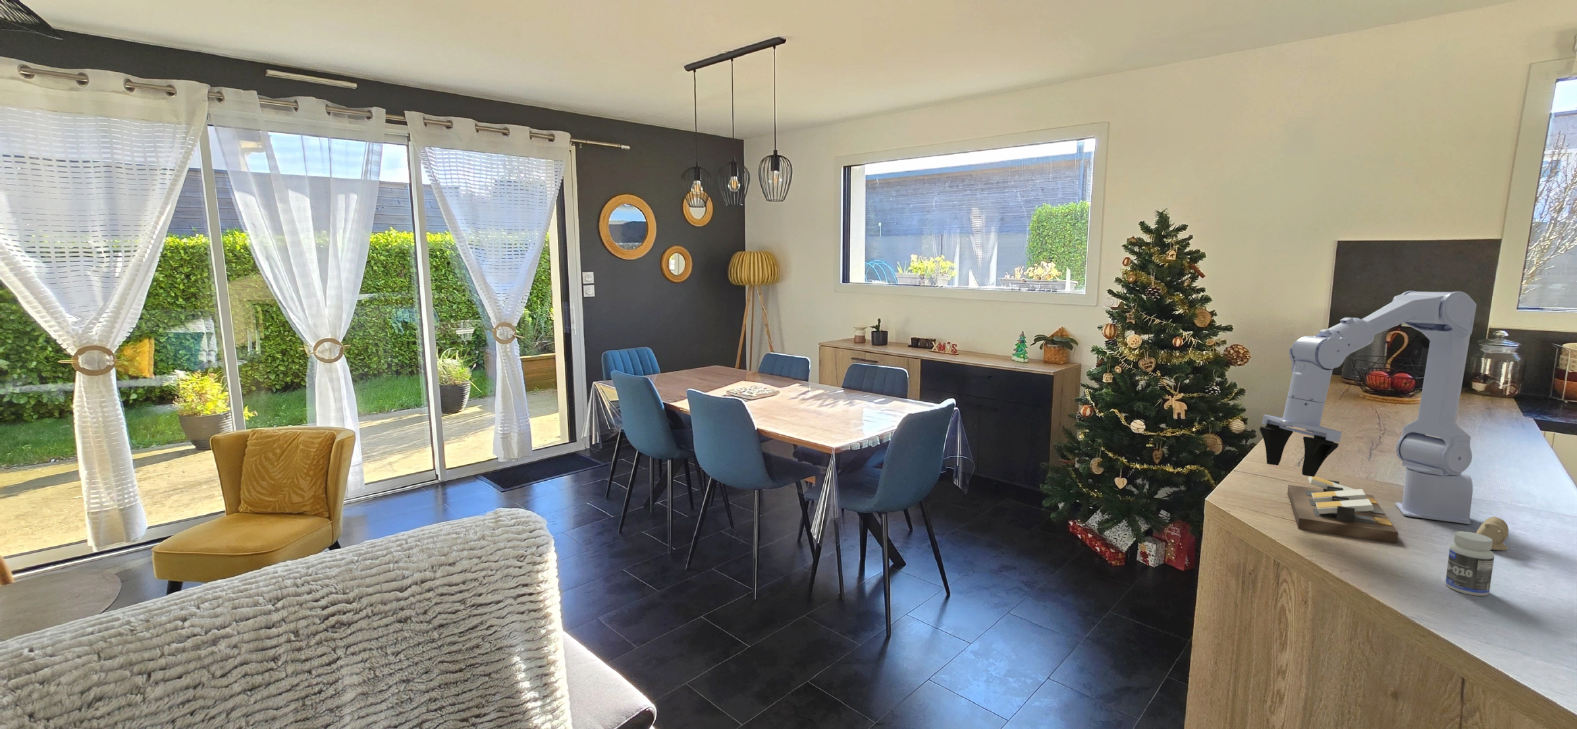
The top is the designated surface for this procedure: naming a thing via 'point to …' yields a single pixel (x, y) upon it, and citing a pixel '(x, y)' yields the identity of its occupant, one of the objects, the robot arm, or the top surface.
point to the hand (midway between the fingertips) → (1289, 469)
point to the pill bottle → (1470, 564)
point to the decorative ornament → (1495, 532)
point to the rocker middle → (1327, 496)
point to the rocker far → (1325, 483)
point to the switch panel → (1340, 516)
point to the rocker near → (1344, 505)
